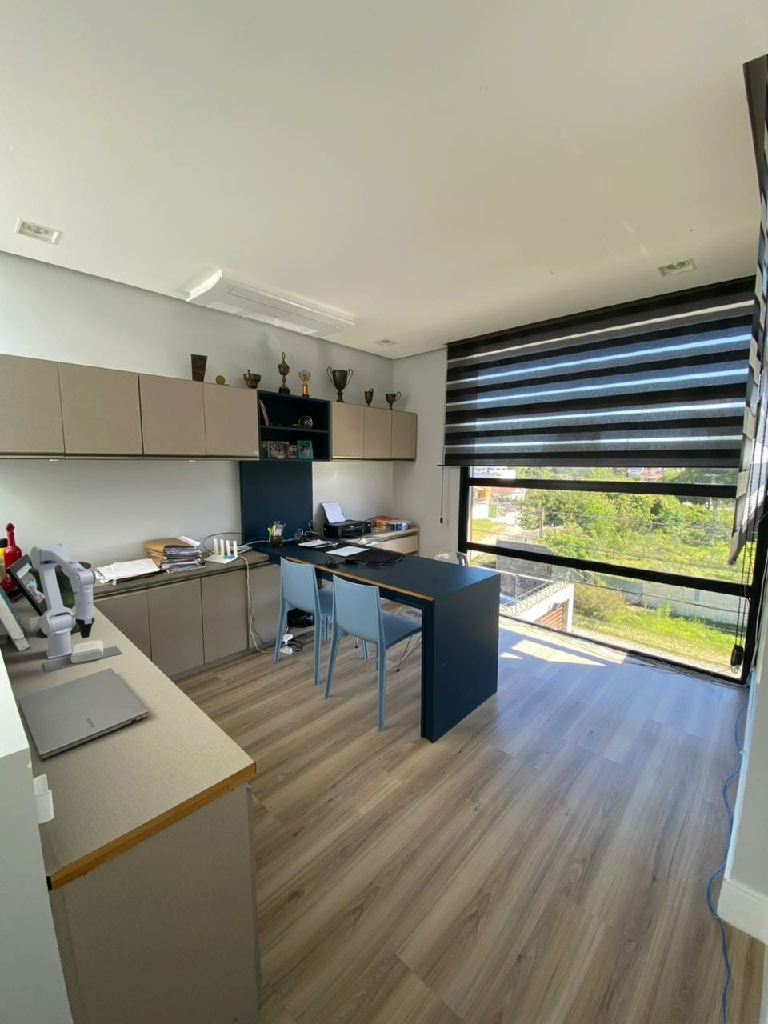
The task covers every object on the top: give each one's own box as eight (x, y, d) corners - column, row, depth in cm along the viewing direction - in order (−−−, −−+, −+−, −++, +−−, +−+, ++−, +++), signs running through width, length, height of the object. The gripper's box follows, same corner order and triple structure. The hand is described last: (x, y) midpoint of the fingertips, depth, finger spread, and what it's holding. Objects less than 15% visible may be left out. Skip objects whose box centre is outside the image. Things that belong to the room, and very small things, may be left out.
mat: (42, 663, 159) (42, 662, 159) (116, 646, 175) (116, 645, 175) (46, 672, 152) (46, 671, 152) (122, 653, 169) (122, 652, 169)
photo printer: (103, 658, 163) (103, 647, 173) (102, 647, 163) (102, 637, 173) (70, 665, 157) (72, 653, 168) (70, 654, 157) (72, 643, 167)
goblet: (30, 629, 193) (27, 565, 191) (89, 618, 208) (87, 559, 206) (32, 643, 177) (29, 574, 174) (96, 631, 192) (94, 567, 190)
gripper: (67, 600, 160) (69, 634, 161) (74, 609, 149) (76, 645, 150) (89, 596, 165) (91, 630, 166) (97, 605, 154) (99, 640, 155)
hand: (85, 637), depth 158 cm, fingers closed
